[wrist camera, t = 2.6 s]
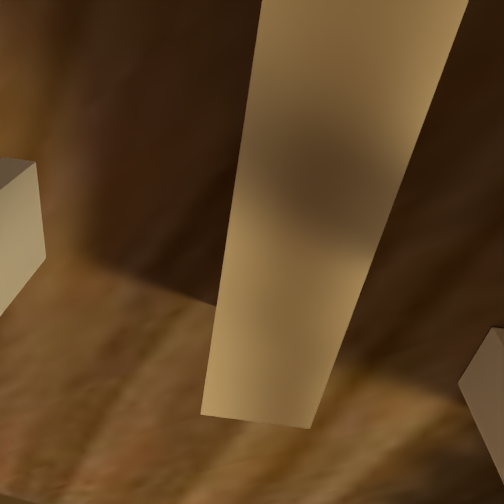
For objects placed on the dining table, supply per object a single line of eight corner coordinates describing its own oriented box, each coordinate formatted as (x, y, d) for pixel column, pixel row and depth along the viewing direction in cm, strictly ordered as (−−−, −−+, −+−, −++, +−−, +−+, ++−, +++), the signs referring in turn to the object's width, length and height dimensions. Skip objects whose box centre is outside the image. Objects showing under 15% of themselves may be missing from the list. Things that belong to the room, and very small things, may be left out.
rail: (217, 306, 21) (200, 414, 16) (283, -131, 12) (293, -205, 7) (300, 318, 21) (309, 428, 16) (422, -103, 12) (527, -157, 7)
